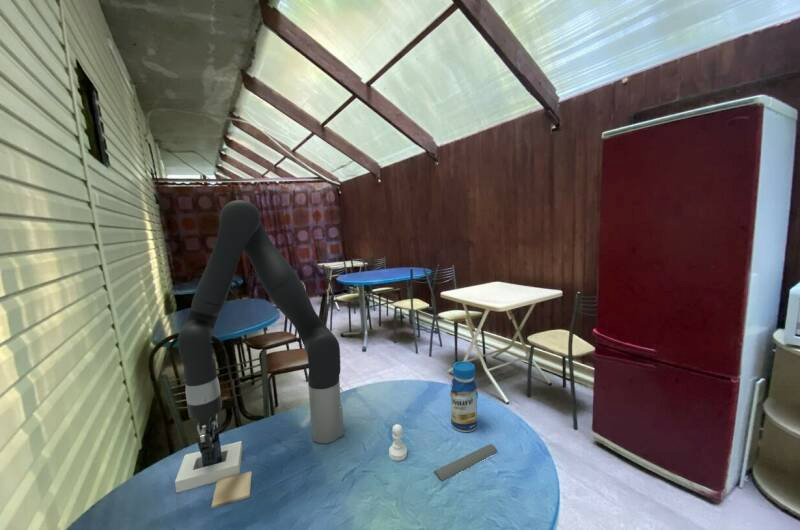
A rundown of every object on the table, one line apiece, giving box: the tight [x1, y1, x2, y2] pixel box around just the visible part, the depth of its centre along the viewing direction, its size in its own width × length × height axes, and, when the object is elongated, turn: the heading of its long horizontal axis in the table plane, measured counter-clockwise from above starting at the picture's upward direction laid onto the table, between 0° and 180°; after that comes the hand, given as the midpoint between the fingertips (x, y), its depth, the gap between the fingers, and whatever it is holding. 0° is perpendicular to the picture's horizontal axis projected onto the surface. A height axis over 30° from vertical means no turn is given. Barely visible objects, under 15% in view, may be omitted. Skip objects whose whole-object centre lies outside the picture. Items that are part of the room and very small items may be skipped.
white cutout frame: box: [174, 440, 244, 493], centre depth 86 cm, size 14×10×3 cm
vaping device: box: [201, 427, 222, 467], centre depth 86 cm, size 3×5×12 cm, turn 78°
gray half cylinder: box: [433, 443, 498, 483], centre depth 87 cm, size 4×20×2 cm, turn 119°
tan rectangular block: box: [211, 470, 252, 509], centre depth 80 cm, size 8×8×1 cm
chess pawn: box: [388, 423, 408, 462], centre depth 90 cm, size 5×5×9 cm
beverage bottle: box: [449, 360, 479, 433], centre depth 101 cm, size 8×8×20 cm
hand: (211, 455), depth 86 cm, fingers closed on vaping device, 3 cm apart
